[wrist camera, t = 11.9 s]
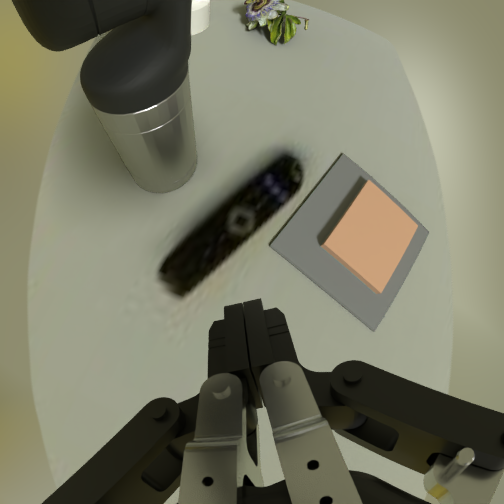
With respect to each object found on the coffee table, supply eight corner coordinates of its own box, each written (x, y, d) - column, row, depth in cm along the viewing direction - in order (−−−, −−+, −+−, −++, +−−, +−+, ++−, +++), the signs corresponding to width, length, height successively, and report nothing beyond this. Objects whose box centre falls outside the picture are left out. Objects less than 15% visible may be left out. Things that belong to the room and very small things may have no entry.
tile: (324, 243, 36) (368, 179, 38) (319, 246, 37) (363, 183, 40) (381, 293, 35) (418, 225, 38) (375, 294, 37) (412, 228, 40)
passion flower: (247, 45, 50) (235, -5, 41) (298, 37, 50) (288, -12, 41) (257, 50, 42) (243, -10, 34) (316, 42, 42) (306, -17, 33)
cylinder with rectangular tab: (194, 9, 45) (193, -35, 33) (218, 25, 44) (221, -23, 32) (155, 24, 43) (149, -22, 31) (177, 41, 42) (173, -9, 30)
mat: (269, 246, 37) (270, 245, 37) (342, 154, 41) (343, 153, 40) (373, 331, 36) (374, 331, 36) (427, 232, 40) (429, 232, 40)
